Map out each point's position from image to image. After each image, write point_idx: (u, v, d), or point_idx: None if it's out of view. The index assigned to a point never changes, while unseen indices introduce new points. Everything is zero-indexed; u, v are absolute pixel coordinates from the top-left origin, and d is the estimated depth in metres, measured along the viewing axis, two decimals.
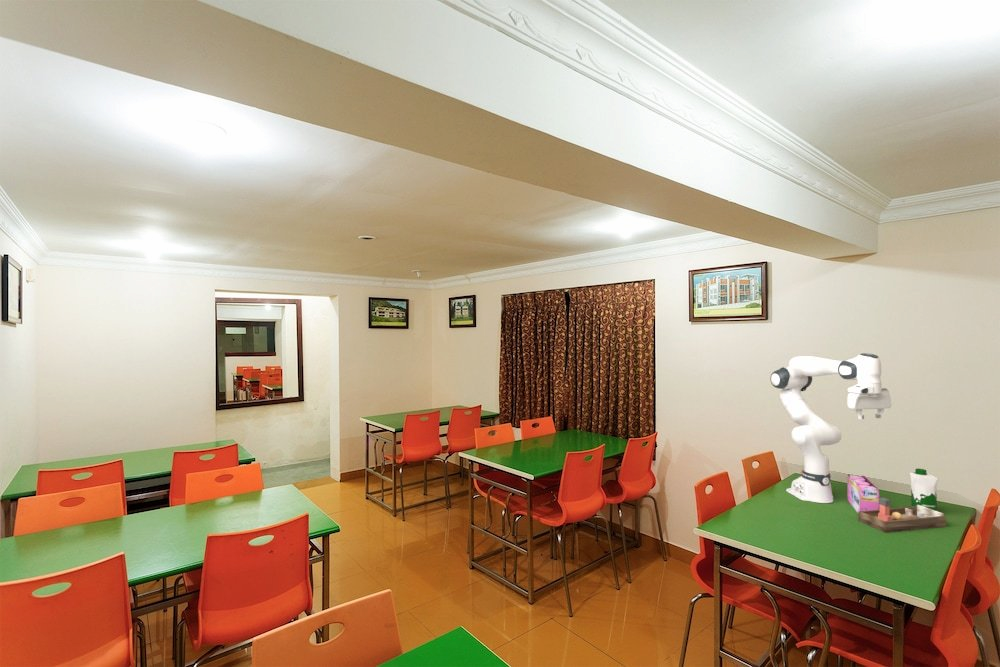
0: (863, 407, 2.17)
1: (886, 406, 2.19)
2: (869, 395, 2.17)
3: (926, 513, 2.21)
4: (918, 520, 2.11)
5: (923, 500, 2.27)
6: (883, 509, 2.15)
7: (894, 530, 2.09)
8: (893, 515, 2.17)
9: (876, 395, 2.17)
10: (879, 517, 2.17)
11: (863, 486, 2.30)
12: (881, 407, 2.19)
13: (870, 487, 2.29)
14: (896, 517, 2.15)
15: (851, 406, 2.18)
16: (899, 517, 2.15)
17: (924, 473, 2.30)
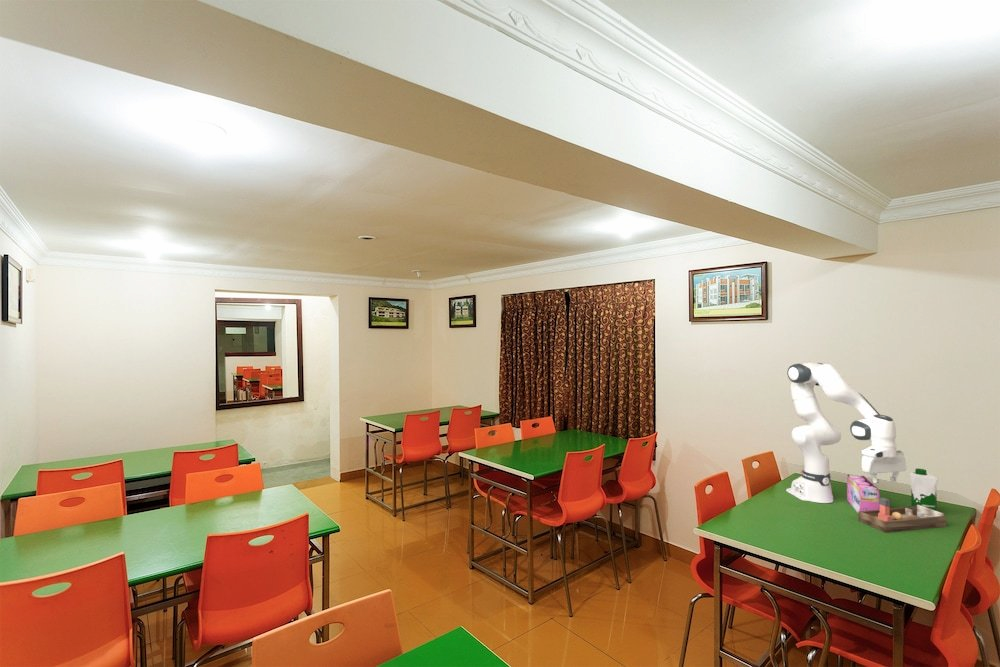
0: (878, 471, 2.13)
1: (901, 469, 2.15)
2: (884, 458, 2.13)
3: (926, 513, 2.21)
4: (918, 520, 2.11)
5: (923, 500, 2.27)
6: (883, 509, 2.15)
7: (894, 530, 2.09)
8: (893, 515, 2.17)
9: (891, 459, 2.13)
10: (879, 517, 2.17)
11: (863, 486, 2.30)
12: (896, 470, 2.14)
13: (870, 487, 2.29)
14: (896, 517, 2.15)
15: (865, 470, 2.13)
16: (899, 517, 2.15)
17: (924, 473, 2.30)
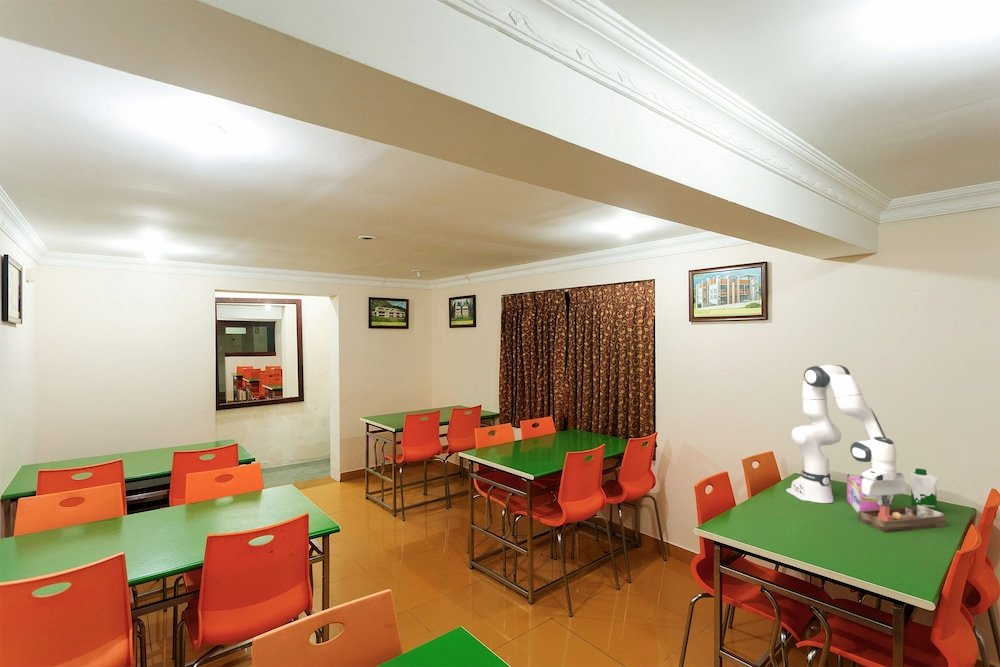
0: (878, 494, 2.13)
1: (901, 492, 2.15)
2: (884, 481, 2.13)
3: (926, 513, 2.21)
4: (918, 520, 2.11)
5: (923, 500, 2.27)
6: (883, 509, 2.15)
7: (894, 530, 2.09)
8: (893, 515, 2.17)
9: (891, 481, 2.13)
10: (879, 517, 2.17)
11: None
12: (896, 493, 2.15)
13: None
14: (896, 517, 2.15)
15: (865, 492, 2.14)
16: (899, 517, 2.15)
17: (924, 473, 2.30)
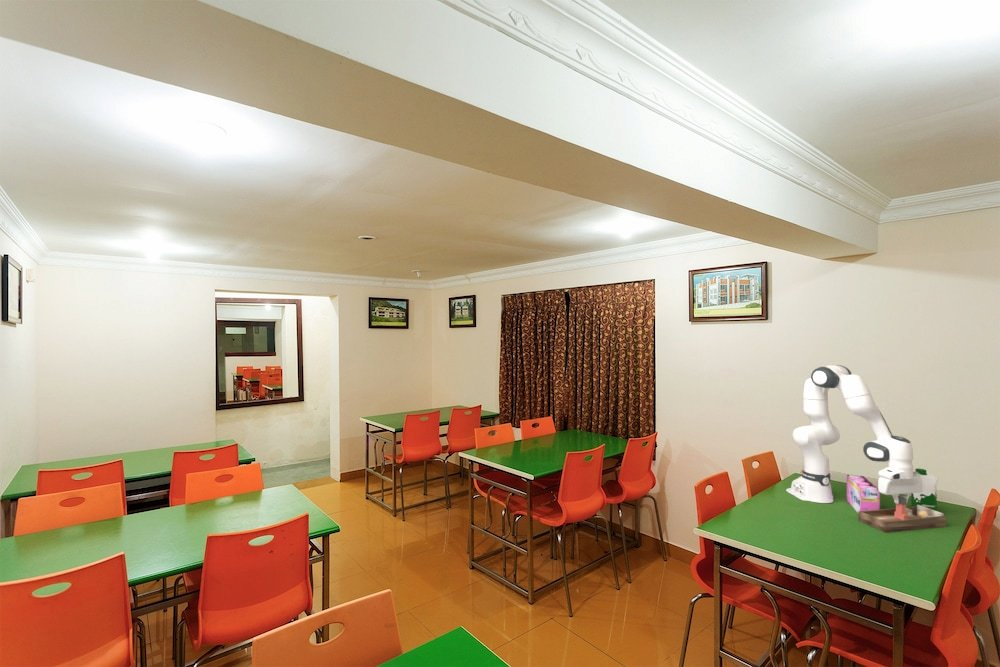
0: (894, 492, 2.14)
1: (917, 490, 2.16)
2: (900, 480, 2.14)
3: None
4: (918, 520, 2.11)
5: (923, 500, 2.27)
6: (899, 508, 2.16)
7: (894, 530, 2.09)
8: (924, 511, 2.19)
9: (908, 480, 2.14)
10: (895, 516, 2.18)
11: (863, 486, 2.30)
12: (912, 492, 2.16)
13: (870, 487, 2.28)
14: (925, 512, 2.18)
15: (882, 491, 2.15)
16: None
17: (924, 473, 2.30)
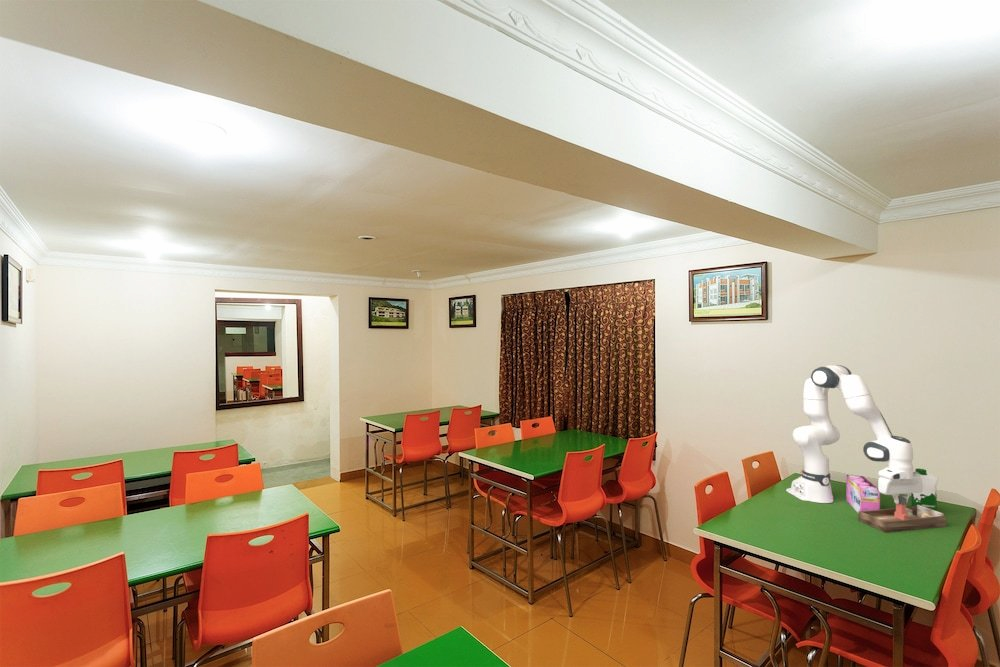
0: (894, 492, 2.14)
1: (917, 490, 2.16)
2: (900, 480, 2.14)
3: (926, 513, 2.21)
4: (918, 520, 2.11)
5: (923, 500, 2.27)
6: (899, 508, 2.16)
7: (894, 530, 2.09)
8: None
9: (908, 480, 2.14)
10: (895, 515, 2.18)
11: (863, 486, 2.30)
12: (912, 492, 2.16)
13: (870, 487, 2.28)
14: None
15: (882, 491, 2.15)
16: None
17: (924, 473, 2.30)
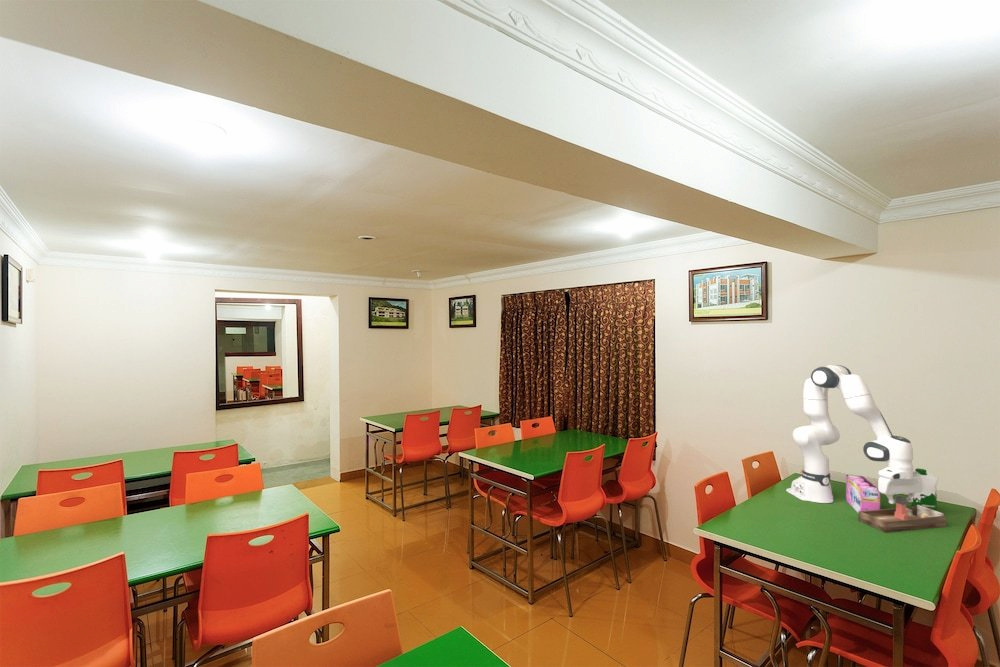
0: (894, 492, 2.14)
1: (917, 490, 2.16)
2: (900, 480, 2.15)
3: (926, 513, 2.21)
4: (918, 520, 2.11)
5: (923, 500, 2.27)
6: (900, 508, 2.16)
7: (894, 530, 2.09)
8: None
9: (908, 480, 2.14)
10: (895, 515, 2.18)
11: (864, 487, 2.30)
12: (912, 491, 2.16)
13: (871, 487, 2.28)
14: None
15: (882, 491, 2.15)
16: None
17: (924, 473, 2.30)
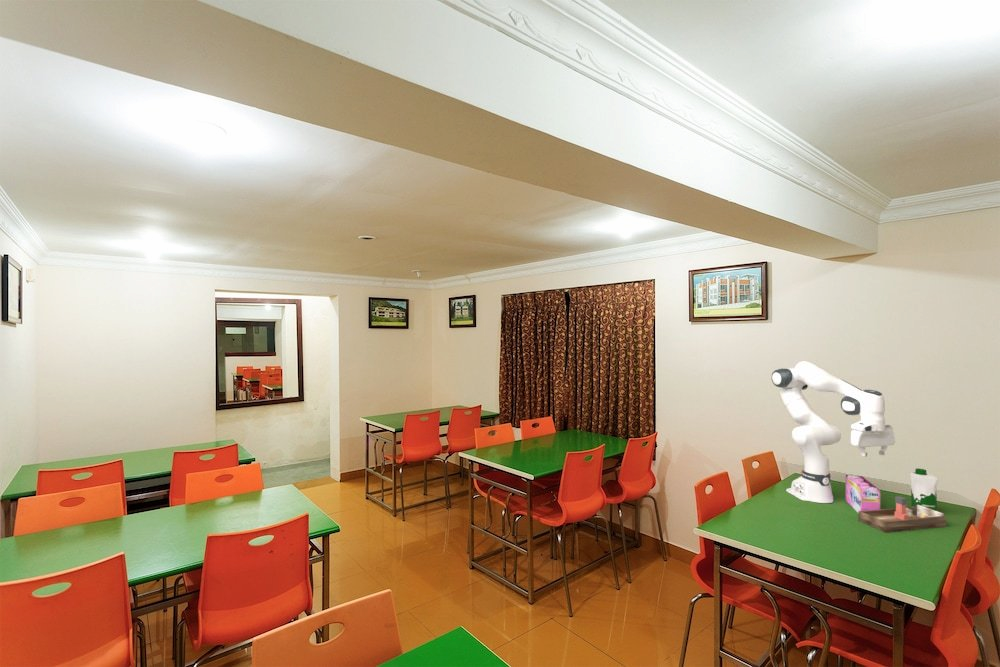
0: (866, 444, 2.16)
1: (889, 443, 2.18)
2: (872, 432, 2.16)
3: (926, 513, 2.21)
4: (918, 520, 2.11)
5: (923, 500, 2.27)
6: (900, 508, 2.16)
7: (894, 530, 2.09)
8: None
9: (879, 432, 2.16)
10: (895, 515, 2.18)
11: (864, 487, 2.29)
12: (884, 444, 2.18)
13: (871, 488, 2.28)
14: (928, 515, 2.18)
15: (854, 443, 2.17)
16: None
17: (924, 473, 2.30)
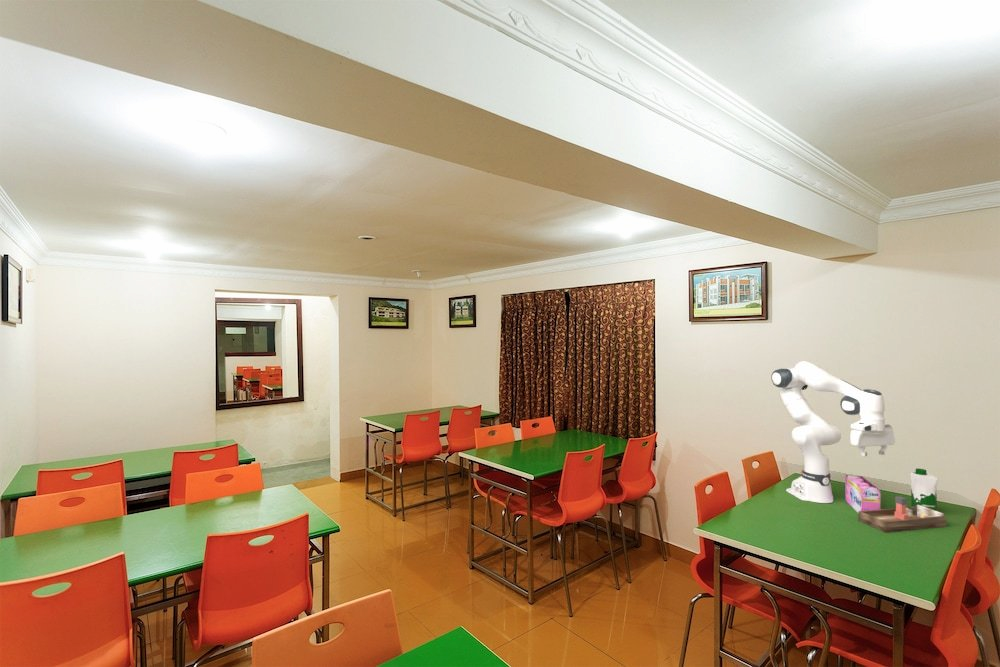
0: (866, 444, 2.16)
1: (889, 443, 2.18)
2: (872, 432, 2.16)
3: (926, 513, 2.21)
4: (918, 520, 2.11)
5: (923, 500, 2.27)
6: (900, 508, 2.16)
7: (894, 530, 2.09)
8: None
9: (879, 432, 2.16)
10: (895, 515, 2.18)
11: (864, 487, 2.29)
12: (884, 444, 2.18)
13: (871, 488, 2.28)
14: None
15: (854, 443, 2.17)
16: None
17: (924, 473, 2.30)
